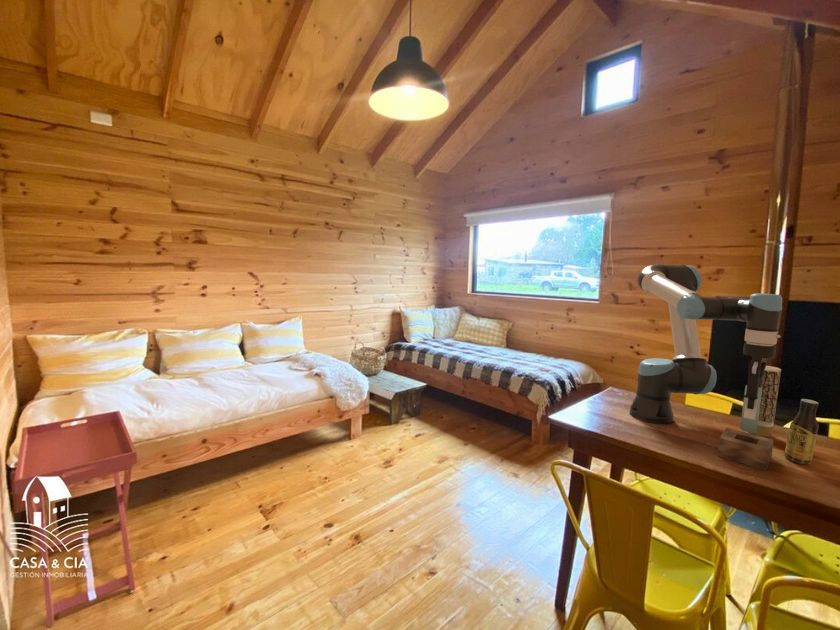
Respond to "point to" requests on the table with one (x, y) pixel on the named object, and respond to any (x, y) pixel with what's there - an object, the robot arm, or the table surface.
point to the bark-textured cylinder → (768, 401)
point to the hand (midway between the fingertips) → (750, 416)
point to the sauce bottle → (803, 433)
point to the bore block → (745, 448)
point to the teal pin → (747, 423)
